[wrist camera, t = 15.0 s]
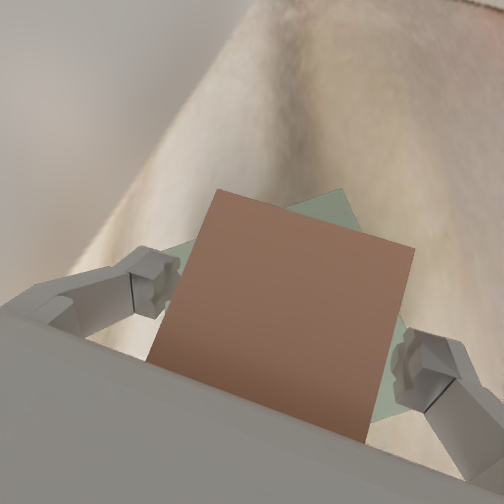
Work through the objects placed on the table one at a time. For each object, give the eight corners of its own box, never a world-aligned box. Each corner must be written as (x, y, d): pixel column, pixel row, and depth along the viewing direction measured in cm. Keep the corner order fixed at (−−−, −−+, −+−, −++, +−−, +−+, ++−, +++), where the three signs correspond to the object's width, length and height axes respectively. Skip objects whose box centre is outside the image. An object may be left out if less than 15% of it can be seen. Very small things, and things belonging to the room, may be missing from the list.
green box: (227, 433, 20) (206, 478, 14) (183, 271, 23) (151, 254, 17) (392, 377, 20) (438, 400, 14) (326, 222, 23) (341, 188, 17)
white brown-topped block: (316, 396, 15) (355, 480, 7) (208, 351, 16) (137, 381, 8) (349, 284, 16) (415, 249, 8) (246, 250, 17) (217, 188, 9)
